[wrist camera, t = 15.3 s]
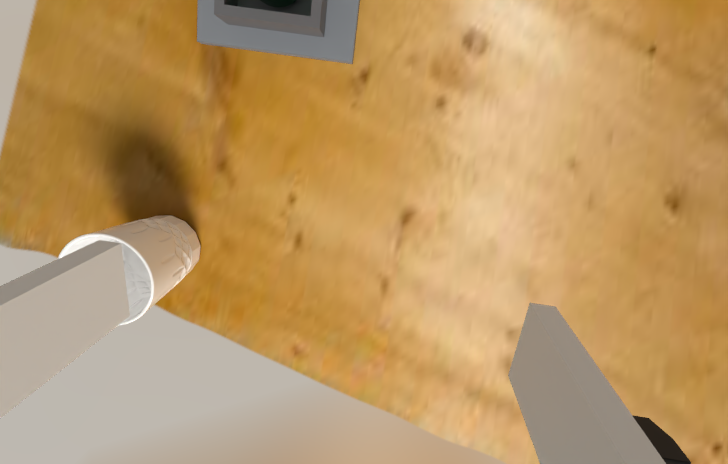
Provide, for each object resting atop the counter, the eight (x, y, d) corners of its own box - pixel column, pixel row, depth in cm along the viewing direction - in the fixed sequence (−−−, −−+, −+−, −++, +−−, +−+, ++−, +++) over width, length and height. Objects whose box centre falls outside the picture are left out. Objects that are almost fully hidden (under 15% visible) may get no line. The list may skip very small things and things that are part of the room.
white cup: (139, 281, 41) (67, 326, 32) (126, 209, 39) (45, 234, 30) (211, 280, 41) (160, 325, 31) (201, 208, 39) (144, 232, 29)
